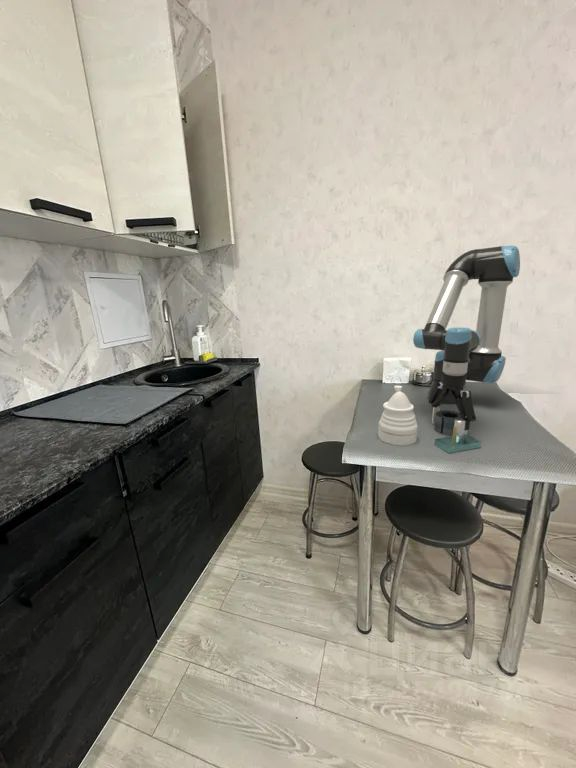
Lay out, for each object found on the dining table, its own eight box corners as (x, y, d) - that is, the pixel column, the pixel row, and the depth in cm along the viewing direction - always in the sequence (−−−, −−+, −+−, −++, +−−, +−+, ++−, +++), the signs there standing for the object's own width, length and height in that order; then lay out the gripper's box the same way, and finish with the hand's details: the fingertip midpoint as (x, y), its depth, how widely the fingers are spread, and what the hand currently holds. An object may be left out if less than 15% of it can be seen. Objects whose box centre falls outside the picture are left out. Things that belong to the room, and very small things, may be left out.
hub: (449, 424, 119) (451, 409, 118) (468, 433, 111) (470, 417, 109) (429, 427, 117) (430, 412, 116) (446, 437, 109) (448, 421, 107)
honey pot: (374, 430, 117) (376, 383, 112) (409, 429, 117) (412, 382, 112) (383, 445, 105) (385, 394, 100) (422, 445, 104) (426, 393, 99)
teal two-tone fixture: (464, 439, 107) (467, 414, 104) (480, 447, 101) (483, 421, 98) (434, 444, 104) (436, 419, 102) (448, 453, 98) (451, 426, 96)
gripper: (421, 367, 119) (417, 419, 125) (474, 383, 96) (466, 446, 101) (438, 365, 121) (433, 417, 126) (494, 380, 97) (485, 443, 103)
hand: (448, 430), depth 114 cm, fingers open, 13 cm apart
